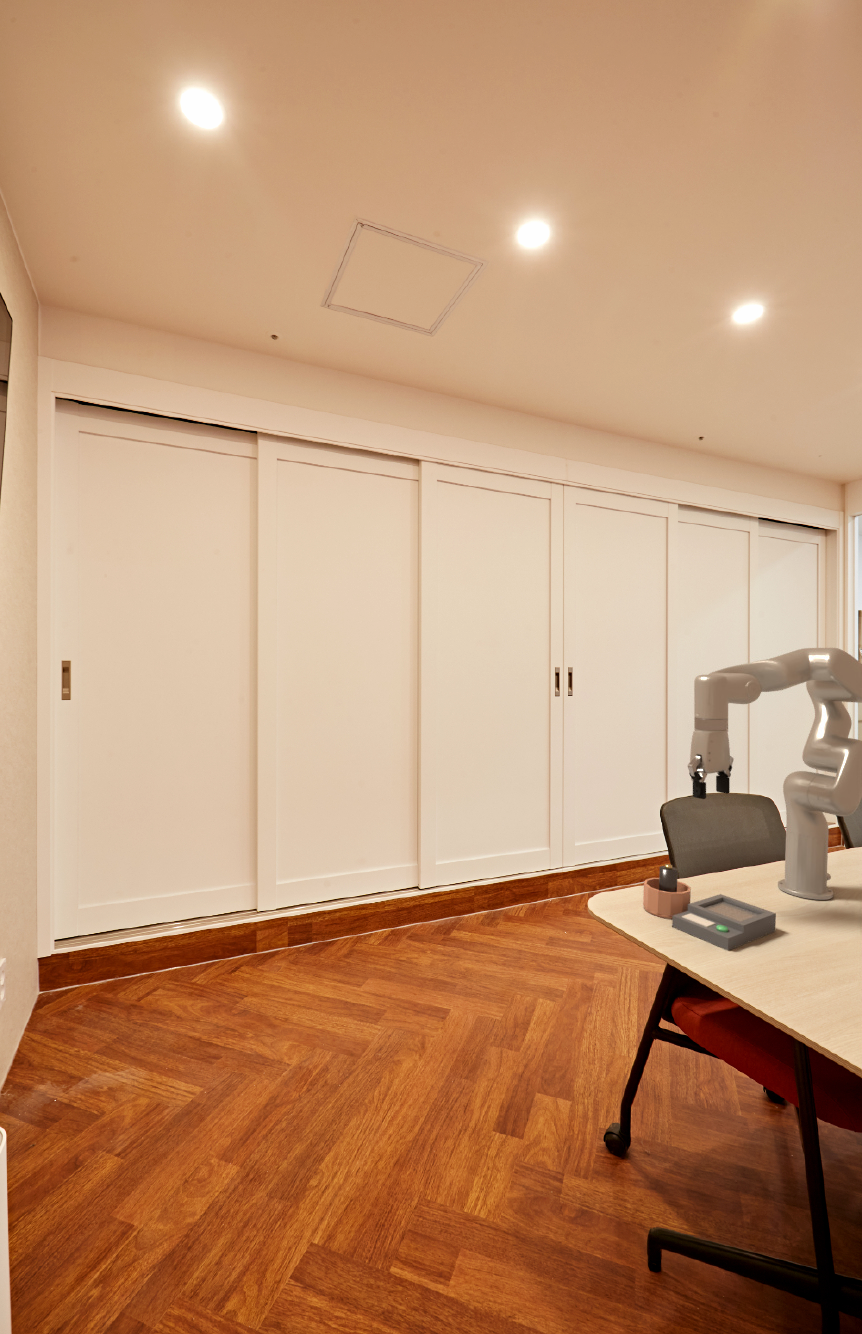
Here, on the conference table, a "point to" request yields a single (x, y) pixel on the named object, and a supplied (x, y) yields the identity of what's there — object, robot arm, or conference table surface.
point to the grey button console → (724, 923)
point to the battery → (668, 878)
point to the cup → (665, 899)
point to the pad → (732, 911)
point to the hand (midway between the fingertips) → (711, 795)
